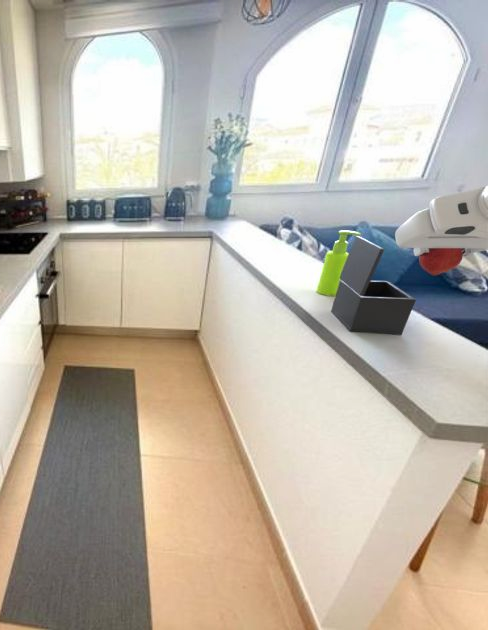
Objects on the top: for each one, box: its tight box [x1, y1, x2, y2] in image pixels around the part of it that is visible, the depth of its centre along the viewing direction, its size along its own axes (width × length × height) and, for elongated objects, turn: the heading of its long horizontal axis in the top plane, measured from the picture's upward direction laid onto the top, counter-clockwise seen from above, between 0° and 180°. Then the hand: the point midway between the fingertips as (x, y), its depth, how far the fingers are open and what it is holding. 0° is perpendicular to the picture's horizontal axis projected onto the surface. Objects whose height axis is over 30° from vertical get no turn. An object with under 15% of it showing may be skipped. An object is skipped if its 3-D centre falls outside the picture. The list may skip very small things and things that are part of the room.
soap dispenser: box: [316, 230, 362, 297], centre depth 107 cm, size 6×7×20 cm
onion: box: [418, 248, 464, 276], centre depth 68 cm, size 6×6×8 cm
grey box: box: [330, 280, 417, 336], centre depth 91 cm, size 11×13×10 cm
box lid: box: [339, 235, 385, 296], centre depth 88 cm, size 12×13×1 cm
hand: (439, 252), depth 69 cm, fingers closed on onion, 5 cm apart
